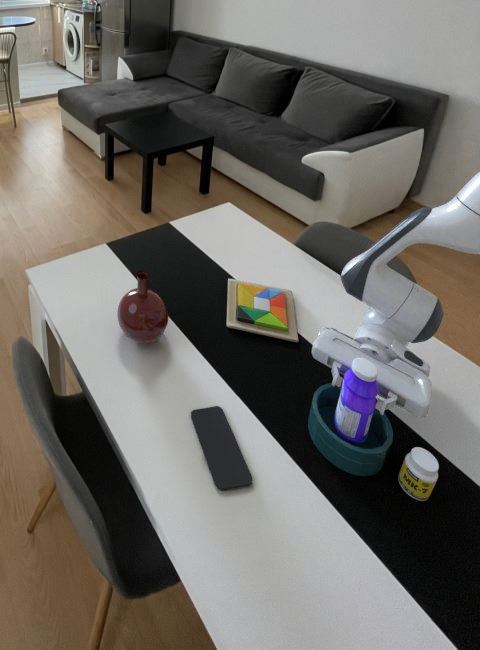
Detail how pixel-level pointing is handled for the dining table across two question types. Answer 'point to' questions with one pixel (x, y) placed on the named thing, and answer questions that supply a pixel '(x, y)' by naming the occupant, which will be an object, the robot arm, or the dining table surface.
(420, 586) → the dining table surface
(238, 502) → the dining table surface
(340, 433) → the bottle
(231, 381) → the dining table surface
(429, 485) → the supplement bottle
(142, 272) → the round-bottom flask
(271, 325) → the wooden puzzle
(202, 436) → the phone
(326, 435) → the teal bowl
